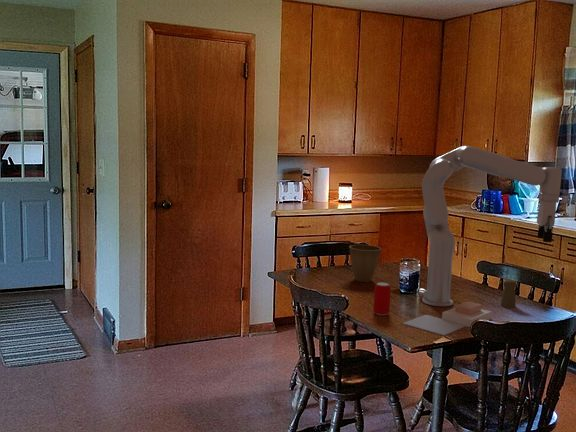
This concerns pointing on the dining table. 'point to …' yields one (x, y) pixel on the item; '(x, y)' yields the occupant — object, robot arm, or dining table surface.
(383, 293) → the beverage can
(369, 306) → the dining table surface
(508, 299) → the cork
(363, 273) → the plant pot
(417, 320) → the mat
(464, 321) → the grey flat block
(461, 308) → the terracotta tile
